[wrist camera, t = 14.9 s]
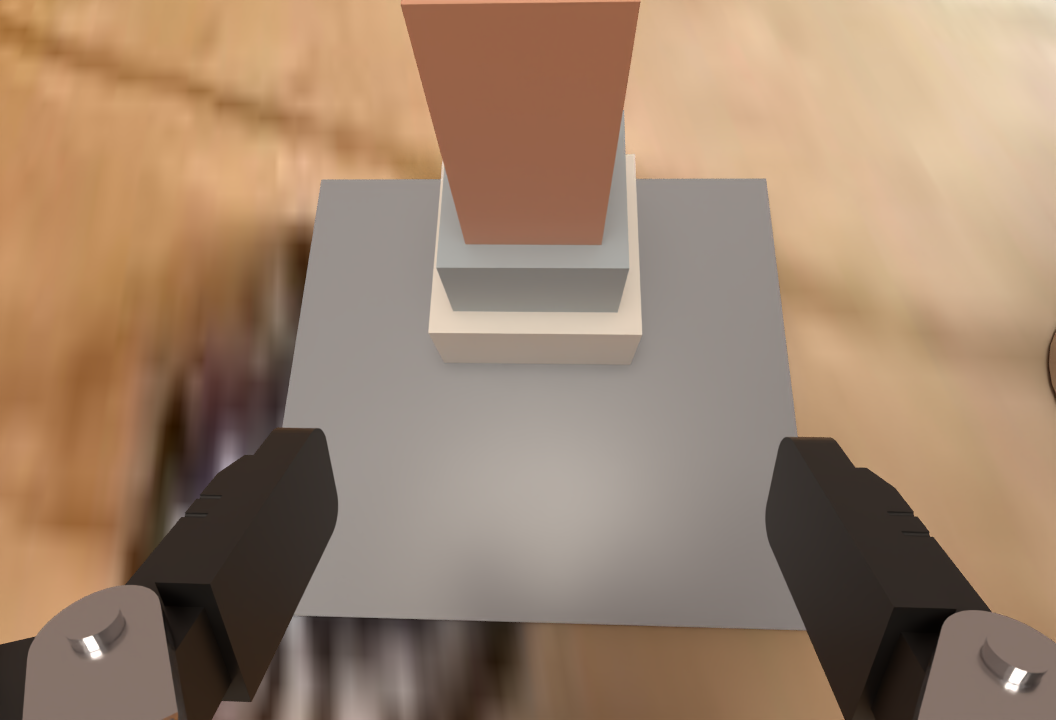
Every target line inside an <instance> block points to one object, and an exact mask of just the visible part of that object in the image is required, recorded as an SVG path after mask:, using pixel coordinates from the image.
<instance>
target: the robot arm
mask: <svg viewBox="0 0 1056 720" xmlns="http://www.w3.org/2000/svg"><path fill="white" fill-rule="evenodd" d="M1049 368H1050V374H1051V381H1052V385H1053V388H1054V390H1055V393H1056V333H1055V335H1054V338H1053V341H1052V343H1051V346H1050V358H1049ZM913 513H914V512H913V510H912V509H911V508H910V507H909V505H908V504H907V503H906V501H905V500H904V499H903V498H902V496H901V495H900V494H899V492H898V491H897V490H896V489H895V488H894V487H893V486H891V485H890V484H889V483H887V482H886V481H884V480H883V479H882V478H880V477H879V476H877V475H876V474H875V473H873V472H872V471H870V470H869V469H868V468H855V467H854V465H853V464H852V462H851V461H850V460H849V458H848V457H847V455H846V454H845V453H844V451H843V450H842V449H841V447H840V446H839V444H838V443H837V442H836V441H835V440H834V439H833V438H826V437H785V438H783V439H782V441H781V442H780V445H779V448H778V452H777V457H776V462H775V466H774V471H773V476H772V481H771V485H770V490H769V495H768V500H767V504H766V511H765V525H766V532H767V537H768V541H769V544H770V547H771V549H772V551H773V554H774V556H775V558H776V561H777V563H778V565H779V568H780V570H781V572H782V574H783V577H784V579H785V581H786V584H787V586H788V588H789V591H790V593H791V595H792V598H793V600H794V602H795V605H796V607H797V609H798V612H799V614H800V616H801V619H802V621H803V623H804V626H805V628H806V630H807V633H808V635H809V637H810V640H811V642H812V644H813V647H814V649H815V651H816V654H817V656H818V658H819V660H820V663H821V665H822V667H823V670H824V672H825V674H826V677H827V679H828V681H829V684H830V686H831V688H832V691H833V693H834V695H835V698H836V700H837V702H838V705H839V707H840V709H841V712H842V714H843V716H844V719H845V720H1056V643H1055V642H1053V641H1052V640H1050V639H1049V638H1048V637H1046V636H1045V635H1043V634H1042V633H1040V632H1038V631H1037V630H1035V629H1033V628H1031V627H1030V626H1028V625H1026V624H1023V623H1021V622H1019V621H1017V620H1014V619H1012V618H1009V617H1007V616H1003V615H1000V614H996V613H992V612H991V610H990V609H989V608H988V607H987V605H986V604H985V603H984V601H983V600H982V599H981V598H980V596H979V595H978V594H977V592H976V591H975V590H974V589H973V587H972V586H971V585H970V583H969V582H968V581H967V580H966V578H965V577H964V576H963V574H962V573H961V572H960V571H959V569H958V568H957V567H956V565H955V564H954V563H953V562H952V560H951V559H950V558H949V557H948V555H947V554H946V553H945V551H944V550H943V549H942V548H941V546H940V545H939V544H938V542H937V541H936V540H935V539H934V537H930V536H929V531H928V530H927V528H926V527H925V526H924V524H923V523H922V522H921V521H920V519H919V518H918V517H914V514H913ZM337 516H338V495H337V490H336V485H335V480H334V475H333V470H332V465H331V460H330V455H329V450H328V445H327V440H326V436H325V434H324V432H323V431H322V430H321V429H320V428H276V429H274V430H273V431H272V432H271V433H270V435H269V436H268V437H267V439H266V440H265V441H264V442H263V444H262V445H261V446H260V448H259V449H258V450H257V451H256V453H255V454H254V455H244V456H243V457H241V458H240V459H238V460H237V461H235V462H234V463H232V464H231V465H229V466H228V467H226V468H225V469H223V470H222V471H220V472H219V473H218V474H217V475H216V476H215V477H214V479H213V480H212V481H211V482H210V483H209V485H208V486H207V487H206V488H205V489H204V491H203V492H202V493H201V494H200V499H196V500H195V501H194V503H193V504H192V505H191V506H190V507H189V509H188V510H187V511H186V512H185V517H181V518H180V520H179V521H178V522H177V523H176V524H175V526H174V527H173V528H172V529H171V530H170V532H169V533H168V534H167V535H166V536H165V538H164V539H163V540H162V541H161V542H160V544H159V545H158V546H157V547H156V548H155V550H154V551H153V552H152V553H151V554H150V556H149V557H148V558H147V559H146V560H145V562H144V563H143V564H142V565H141V567H140V568H139V569H138V570H137V571H136V573H135V574H134V575H133V576H132V577H131V579H130V580H129V581H128V582H127V583H126V585H123V586H116V587H111V588H107V589H104V590H101V591H98V592H95V593H93V594H90V595H88V596H86V597H84V598H82V599H80V600H78V601H76V602H74V603H73V604H71V605H70V606H68V607H67V608H65V609H63V610H62V611H61V612H60V613H58V614H57V615H56V616H54V617H53V618H52V619H51V620H50V621H49V622H48V623H47V624H46V625H45V626H44V627H43V628H42V629H41V630H40V632H39V633H38V634H37V636H36V637H32V638H27V639H23V640H19V641H14V642H10V643H5V644H1V645H0V720H212V718H213V716H214V714H215V712H216V710H217V709H218V707H219V705H220V703H221V701H239V702H252V700H253V698H254V696H255V694H256V692H257V689H258V687H259V685H260V683H261V681H262V679H263V677H264V675H265V673H266V671H267V669H268V667H269V665H270V662H271V660H272V658H273V656H274V654H275V652H276V650H277V648H278V646H279V644H280V642H281V640H282V638H283V636H284V633H285V631H286V629H287V627H288V625H289V623H290V621H291V619H292V617H293V615H294V613H295V611H296V609H297V606H298V604H299V602H300V600H301V598H302V596H303V594H304V592H305V590H306V588H307V586H308V584H309V582H310V580H311V577H312V575H313V573H314V571H315V569H316V567H317V565H318V563H319V561H320V559H321V557H322V555H323V553H324V550H325V548H326V546H327V544H328V542H329V540H330V538H331V536H332V534H333V532H334V529H335V526H336V522H337Z"/></svg>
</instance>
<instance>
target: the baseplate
mask: <svg viewBox="0 0 1056 720" xmlns="http://www.w3.org/2000/svg"><path fill="white" fill-rule="evenodd" d="M440 184H441V179H403V180H321V187H320V193H319V199H318V206H317V212H316V218H315V225H314V231H313V237H312V244H311V250H310V256H309V263H308V269H307V275H306V281H305V288H304V294H303V300H302V307H301V313H300V319H299V326H298V332H297V338H296V345H295V351H294V357H293V364H292V370H291V376H290V383H289V389H288V395H287V402H286V408H285V414H284V421H283V427H282V428H320V429H321V430H322V431H323V432H324V434H325V436H326V440H327V445H328V450H329V455H330V460H331V465H332V470H333V475H334V480H335V485H336V490H337V495H338V516H337V522H336V526H335V529H334V532H333V534H332V536H331V538H330V540H329V542H328V544H327V546H326V548H325V550H324V553H323V555H322V557H321V559H320V561H319V563H318V565H317V567H316V569H315V571H314V573H313V575H312V577H311V580H310V582H309V584H308V586H307V588H306V590H305V592H304V594H303V596H302V598H301V600H300V602H299V604H298V606H297V609H296V611H295V613H294V615H298V616H332V617H366V618H401V619H435V620H469V621H503V622H537V623H572V624H606V625H640V626H674V627H709V628H743V629H777V630H806V628H805V626H804V623H803V621H802V619H801V616H800V614H799V612H798V609H797V607H796V605H795V602H794V600H793V598H792V595H791V593H790V591H789V588H788V586H787V584H786V581H785V579H784V577H783V574H782V572H781V570H780V568H779V565H778V563H777V561H776V558H775V556H774V554H773V551H772V549H771V547H770V544H769V541H768V537H767V532H766V525H765V511H766V504H767V500H768V495H769V490H770V485H771V481H772V476H773V471H774V466H775V462H776V457H777V452H778V448H779V445H780V442H781V441H782V439H783V438H785V437H798V436H797V428H796V420H795V412H794V403H793V395H792V387H791V379H790V371H789V363H788V355H787V346H786V338H785V330H784V322H783V314H782V306H781V297H780V289H779V281H778V273H777V265H776V257H775V248H774V240H773V232H772V224H771V216H770V208H769V199H768V191H767V183H766V179H636V192H637V217H638V241H639V266H640V291H641V316H642V337H641V339H640V342H639V344H638V347H637V349H636V352H635V354H634V357H633V359H632V362H631V364H630V365H608V364H516V363H444V361H443V359H442V358H441V356H440V354H439V352H438V350H437V348H436V346H435V345H434V343H433V341H432V339H431V337H430V335H429V333H428V329H429V317H430V305H431V293H432V281H433V269H434V257H435V245H436V233H437V221H438V209H439V196H440Z"/></svg>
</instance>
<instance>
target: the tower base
mask: <svg viewBox="0 0 1056 720" xmlns="http://www.w3.org/2000/svg"><path fill="white" fill-rule="evenodd" d="M428 333H429V335H430V337H431V339H432V341H433V343H434V345H435V346H436V348H437V350H438V352H439V354H440V356H441V358H442V359H443V361H444V363H516V364H608V365H630V364H631V362H632V359H633V357H634V354H635V352H636V349H637V347H638V344H639V342H640V339H641V337H642V316H641V291H640V266H639V241H638V217H637V192H636V167H635V154H625V127H624V110H623V113H622V120H621V126H620V132H619V139H618V145H617V151H616V157H615V164H614V170H613V176H612V182H611V189H610V195H609V201H608V207H607V214H606V220H605V226H604V233H603V239H602V245H489V244H465V241H464V237H463V234H462V230H461V226H460V222H459V219H458V215H457V211H456V208H455V204H454V200H453V196H452V193H451V189H450V185H449V182H448V178H447V174H446V170H445V167H444V163H443V160H442V172H441V184H440V196H439V209H438V221H437V233H436V245H435V257H434V269H433V281H432V293H431V305H430V317H429V329H428Z"/></svg>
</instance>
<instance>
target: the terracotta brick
mask: <svg viewBox="0 0 1056 720" xmlns="http://www.w3.org/2000/svg"><path fill="white" fill-rule="evenodd" d="M401 7H402V11H403V15H404V18H405V22H406V26H407V29H408V33H409V37H410V41H411V44H412V48H413V52H414V55H415V59H416V63H417V67H418V70H419V74H420V78H421V81H422V85H423V89H424V93H425V96H426V100H427V104H428V107H429V111H430V115H431V119H432V122H433V126H434V130H435V133H436V137H437V141H438V144H439V148H440V152H441V156H442V159H443V163H444V167H445V170H446V174H447V178H448V182H449V185H450V189H451V193H452V196H453V200H454V204H455V208H456V211H457V215H458V219H459V222H460V226H461V230H462V234H463V237H464V241H465V244H489V245H602V239H603V233H604V226H605V220H606V214H607V207H608V201H609V195H610V189H611V182H612V176H613V170H614V164H615V157H616V151H617V145H618V139H619V132H620V126H621V120H622V113H623V107H624V101H625V95H626V88H627V82H628V76H629V70H630V63H631V57H632V51H633V45H634V38H635V32H636V26H637V20H638V13H639V7H640V0H401Z"/></svg>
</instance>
